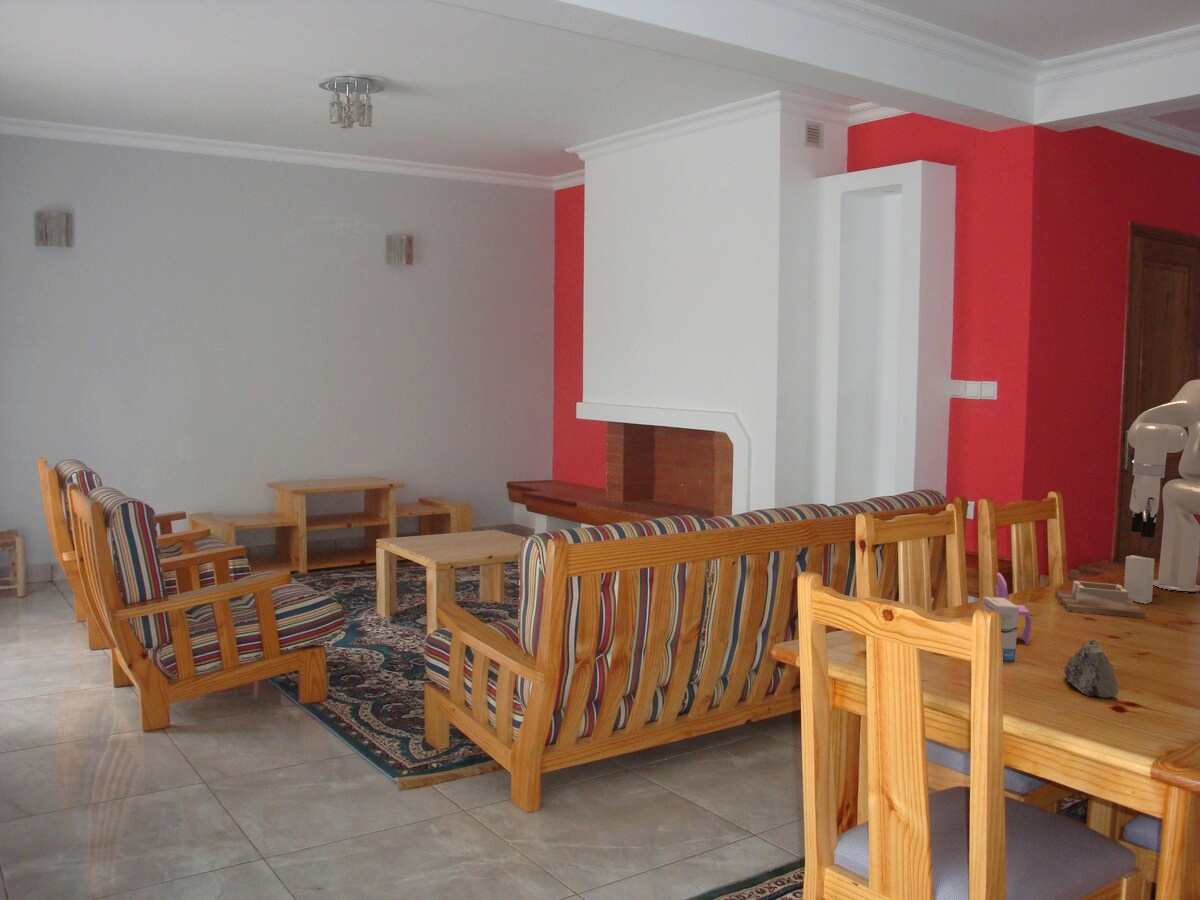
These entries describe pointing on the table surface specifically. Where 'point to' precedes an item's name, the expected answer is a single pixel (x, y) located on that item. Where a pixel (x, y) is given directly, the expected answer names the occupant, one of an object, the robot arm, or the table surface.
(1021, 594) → the table surface
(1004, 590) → the toy chair
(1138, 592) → the skincare box
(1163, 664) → the table surface
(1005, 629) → the ink box
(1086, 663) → the mineral rock
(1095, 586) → the collar plate
